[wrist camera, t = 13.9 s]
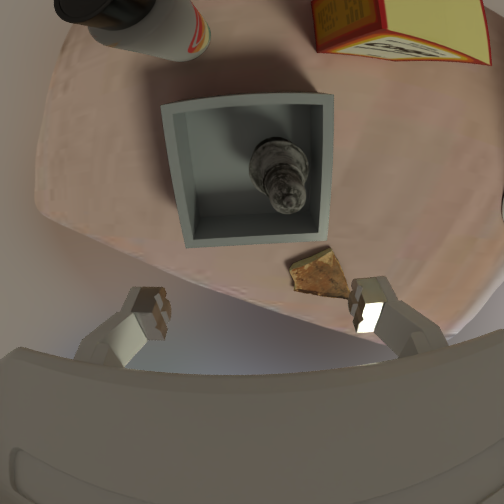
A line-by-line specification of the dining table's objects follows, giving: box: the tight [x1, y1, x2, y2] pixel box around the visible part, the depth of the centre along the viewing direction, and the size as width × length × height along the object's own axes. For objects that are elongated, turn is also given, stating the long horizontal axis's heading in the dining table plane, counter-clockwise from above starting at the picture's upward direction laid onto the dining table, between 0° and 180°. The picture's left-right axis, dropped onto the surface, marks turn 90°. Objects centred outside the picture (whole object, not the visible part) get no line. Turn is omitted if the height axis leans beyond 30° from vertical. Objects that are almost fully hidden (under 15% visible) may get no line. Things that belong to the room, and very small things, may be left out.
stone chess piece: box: [249, 137, 309, 214], centre depth 23 cm, size 6×6×12 cm
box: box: [160, 92, 334, 248], centre depth 27 cm, size 15×15×6 cm
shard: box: [289, 248, 350, 300], centre depth 39 cm, size 11×8×2 cm
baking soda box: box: [311, 0, 492, 66], centre depth 14 cm, size 10×6×16 cm
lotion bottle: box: [54, 0, 211, 62], centre depth 13 cm, size 6×6×20 cm
